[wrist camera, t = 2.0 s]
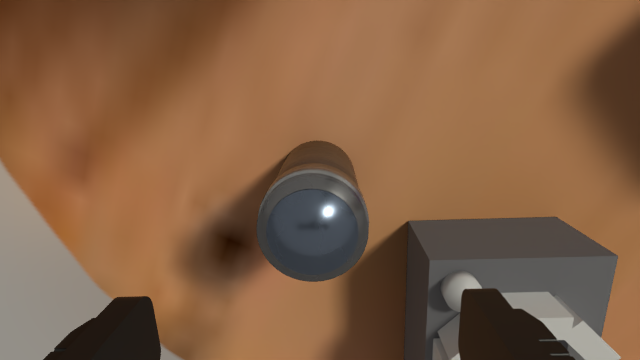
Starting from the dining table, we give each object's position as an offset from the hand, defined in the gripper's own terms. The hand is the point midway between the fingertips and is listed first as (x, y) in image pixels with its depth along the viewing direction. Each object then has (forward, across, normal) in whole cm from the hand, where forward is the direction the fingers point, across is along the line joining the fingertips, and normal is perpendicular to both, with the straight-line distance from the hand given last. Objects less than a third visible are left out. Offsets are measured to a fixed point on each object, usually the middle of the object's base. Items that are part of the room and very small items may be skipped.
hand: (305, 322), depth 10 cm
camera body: (+13, -10, +9) cm, 19 cm away
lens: (+13, 0, 0) cm, 13 cm away
